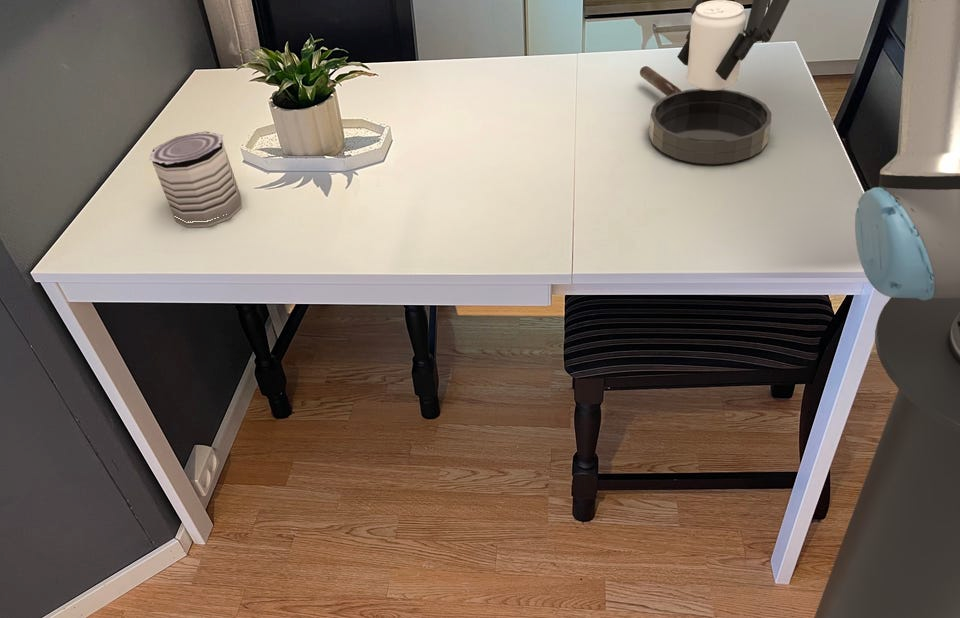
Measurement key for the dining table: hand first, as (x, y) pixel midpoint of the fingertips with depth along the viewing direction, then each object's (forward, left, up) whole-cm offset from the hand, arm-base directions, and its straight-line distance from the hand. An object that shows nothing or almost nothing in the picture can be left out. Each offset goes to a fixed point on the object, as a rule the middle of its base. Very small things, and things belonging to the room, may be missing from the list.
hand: (701, 68), depth 125 cm
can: (+19, +80, -14) cm, 83 cm away
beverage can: (+1, -3, -4) cm, 5 cm away
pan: (+1, -3, -14) cm, 14 cm away
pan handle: (+17, -3, -11) cm, 21 cm away
